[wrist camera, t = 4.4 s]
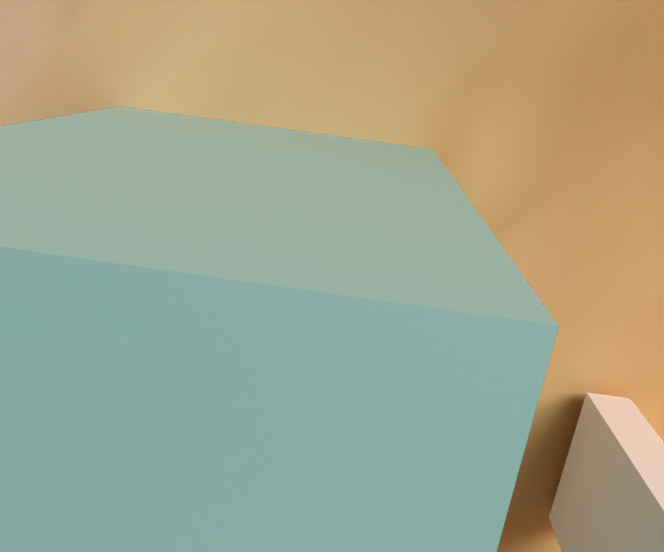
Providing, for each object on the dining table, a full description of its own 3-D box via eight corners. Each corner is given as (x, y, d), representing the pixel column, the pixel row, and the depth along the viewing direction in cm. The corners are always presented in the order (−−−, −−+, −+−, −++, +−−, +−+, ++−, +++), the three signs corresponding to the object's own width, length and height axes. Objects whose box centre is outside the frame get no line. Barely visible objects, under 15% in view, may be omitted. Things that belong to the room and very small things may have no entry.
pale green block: (118, 583, 13) (-141, 1107, 7) (123, 106, 10) (-393, 189, 3) (347, 617, 13) (321, 1186, 6) (432, 148, 10) (558, 327, 3)
